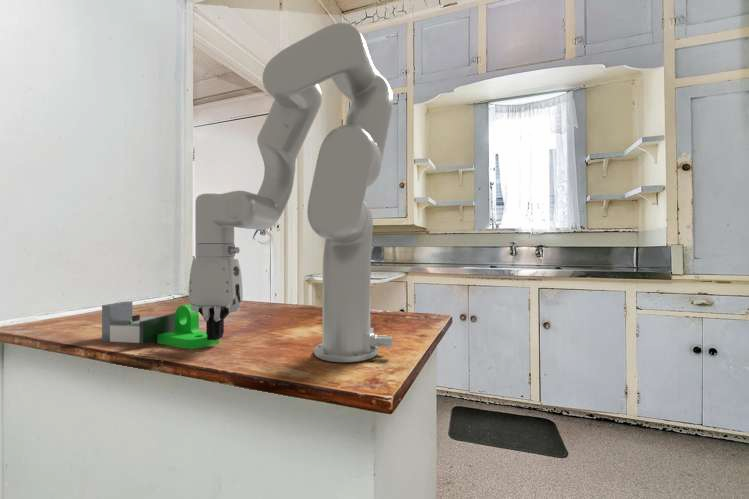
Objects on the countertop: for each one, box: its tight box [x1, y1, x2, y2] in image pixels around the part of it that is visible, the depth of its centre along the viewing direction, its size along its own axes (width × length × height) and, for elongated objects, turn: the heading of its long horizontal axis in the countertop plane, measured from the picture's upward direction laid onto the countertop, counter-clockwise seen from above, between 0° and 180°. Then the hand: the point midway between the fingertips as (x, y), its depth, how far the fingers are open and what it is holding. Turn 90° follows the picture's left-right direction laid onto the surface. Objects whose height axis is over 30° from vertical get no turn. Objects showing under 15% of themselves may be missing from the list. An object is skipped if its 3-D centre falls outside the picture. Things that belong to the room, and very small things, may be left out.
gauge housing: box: [101, 301, 140, 344], centre depth 79 cm, size 9×6×8 cm, turn 82°
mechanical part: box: [156, 303, 220, 350], centre depth 76 cm, size 12×6×8 cm, turn 65°
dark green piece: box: [132, 312, 175, 345], centre depth 77 cm, size 7×10×5 cm, turn 172°
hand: (215, 338), depth 73 cm, fingers closed
